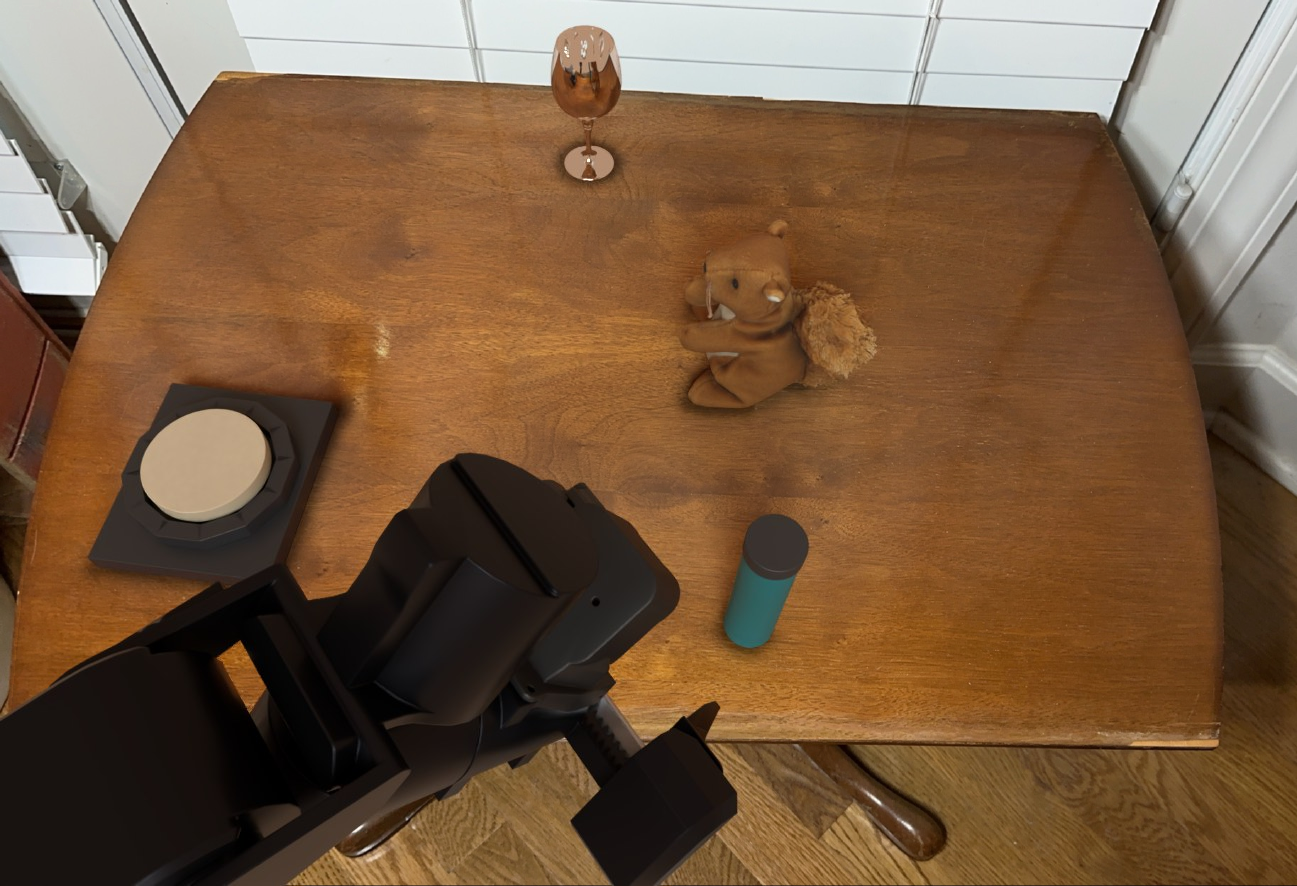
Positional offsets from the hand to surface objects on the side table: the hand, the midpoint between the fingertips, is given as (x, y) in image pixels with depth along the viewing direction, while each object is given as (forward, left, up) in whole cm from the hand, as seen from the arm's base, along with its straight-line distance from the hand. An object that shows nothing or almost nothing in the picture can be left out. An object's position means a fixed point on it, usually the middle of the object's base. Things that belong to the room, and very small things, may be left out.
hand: (654, 636), depth 46 cm
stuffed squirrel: (+27, -6, -13) cm, 31 cm away
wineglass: (+47, +11, -13) cm, 50 cm away
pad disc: (+11, +31, -10) cm, 35 cm away
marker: (+6, -6, -13) cm, 15 cm away
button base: (+11, +31, -13) cm, 35 cm away
